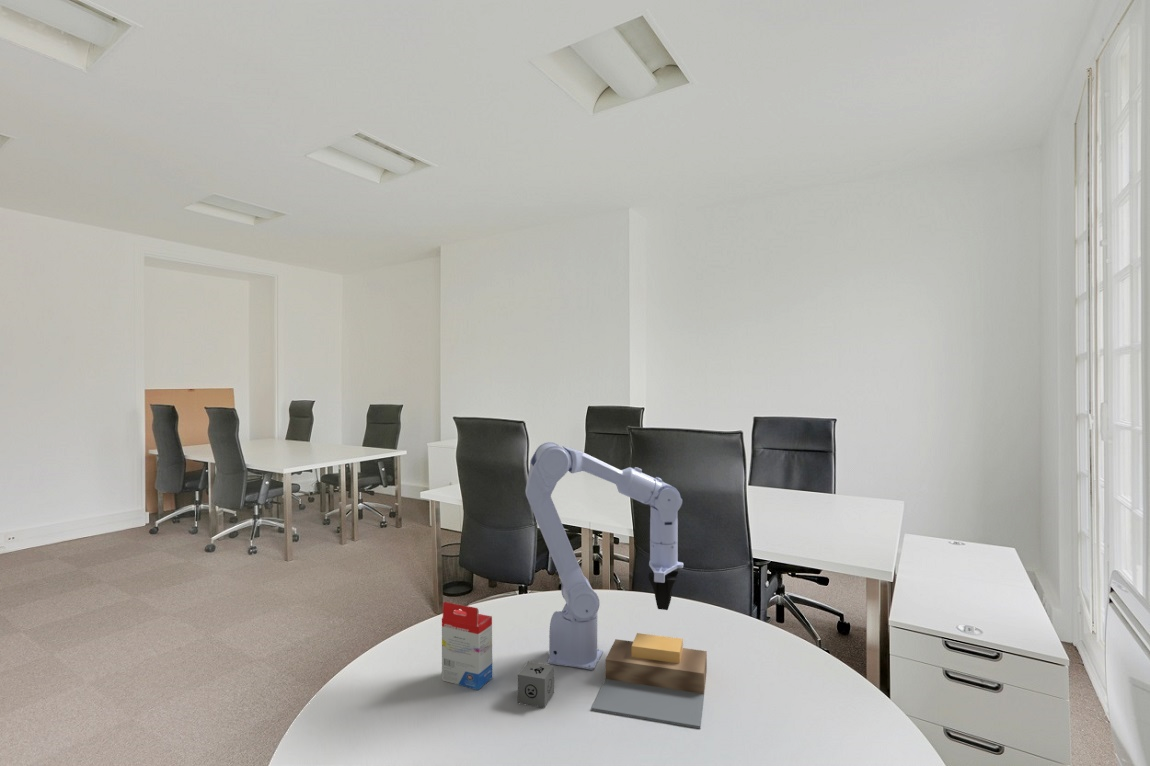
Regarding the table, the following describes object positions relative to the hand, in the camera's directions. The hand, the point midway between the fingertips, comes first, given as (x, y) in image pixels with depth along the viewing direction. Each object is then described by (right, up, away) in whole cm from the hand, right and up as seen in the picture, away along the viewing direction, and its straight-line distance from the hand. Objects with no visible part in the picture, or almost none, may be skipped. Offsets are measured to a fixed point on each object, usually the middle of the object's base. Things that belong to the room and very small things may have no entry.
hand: (663, 606), depth 115 cm
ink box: (-39, -9, -12) cm, 42 cm away
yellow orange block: (-3, -5, -9) cm, 11 cm away
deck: (-3, -9, -10) cm, 14 cm away
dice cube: (-25, -9, -18) cm, 32 cm away
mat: (-6, -9, -19) cm, 22 cm away
